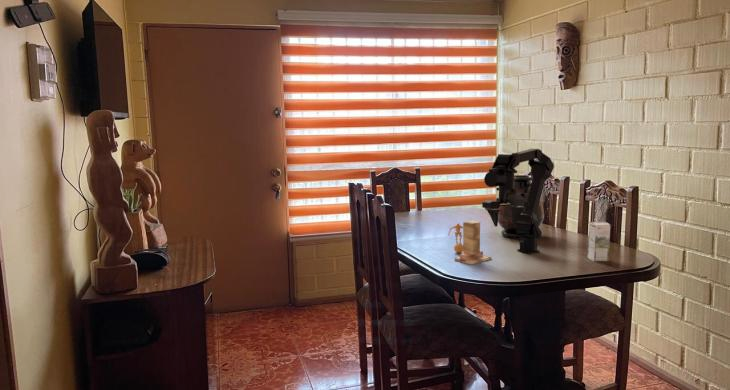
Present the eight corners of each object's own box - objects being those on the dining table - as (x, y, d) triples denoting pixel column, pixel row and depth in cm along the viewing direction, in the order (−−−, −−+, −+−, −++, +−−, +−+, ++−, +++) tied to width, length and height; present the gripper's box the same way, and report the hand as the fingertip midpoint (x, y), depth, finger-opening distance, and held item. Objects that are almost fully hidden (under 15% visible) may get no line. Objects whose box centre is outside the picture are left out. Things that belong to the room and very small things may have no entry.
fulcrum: (475, 255, 216) (475, 248, 216) (491, 259, 210) (491, 251, 210) (454, 260, 209) (454, 253, 208) (470, 264, 203) (470, 256, 202)
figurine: (449, 254, 219) (449, 225, 218) (447, 250, 225) (447, 222, 224) (469, 253, 219) (470, 224, 218) (467, 250, 225) (467, 222, 224)
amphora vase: (553, 238, 246) (555, 177, 243) (514, 242, 238) (515, 179, 235) (523, 230, 266) (524, 173, 262) (486, 233, 258) (487, 175, 255)
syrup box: (601, 258, 209) (603, 221, 207) (609, 261, 203) (610, 223, 201) (587, 258, 209) (588, 221, 207) (594, 262, 203) (595, 224, 201)
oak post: (470, 250, 211) (471, 220, 210) (479, 252, 208) (480, 222, 206) (463, 252, 209) (463, 222, 207) (472, 254, 205) (472, 223, 204)
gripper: (501, 188, 196) (500, 230, 198) (540, 186, 204) (538, 226, 206) (481, 185, 206) (480, 226, 208) (519, 183, 214) (518, 222, 216)
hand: (505, 225), depth 209 cm, fingers open, 9 cm apart
